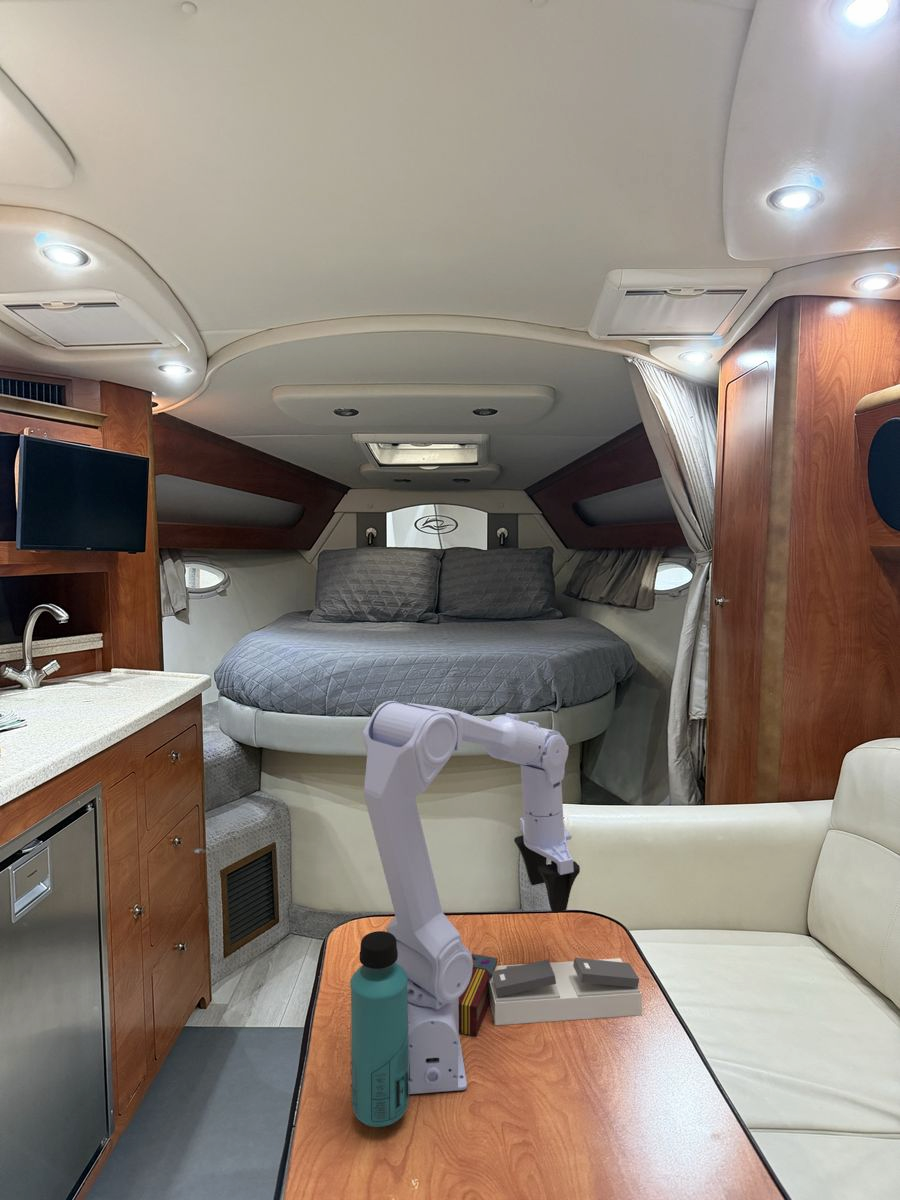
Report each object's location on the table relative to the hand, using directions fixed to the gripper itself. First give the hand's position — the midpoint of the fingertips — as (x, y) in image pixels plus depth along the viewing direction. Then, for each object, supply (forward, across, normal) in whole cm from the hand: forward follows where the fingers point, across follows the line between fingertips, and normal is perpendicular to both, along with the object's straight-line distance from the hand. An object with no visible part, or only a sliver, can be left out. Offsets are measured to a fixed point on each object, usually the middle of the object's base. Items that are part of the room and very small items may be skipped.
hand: (547, 896), depth 96 cm
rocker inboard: (+8, -7, +7) cm, 13 cm away
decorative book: (+11, -1, +19) cm, 22 cm away
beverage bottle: (+9, -19, +29) cm, 36 cm away
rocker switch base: (+12, -6, +2) cm, 13 cm away
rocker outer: (+8, -9, -4) cm, 13 cm away
